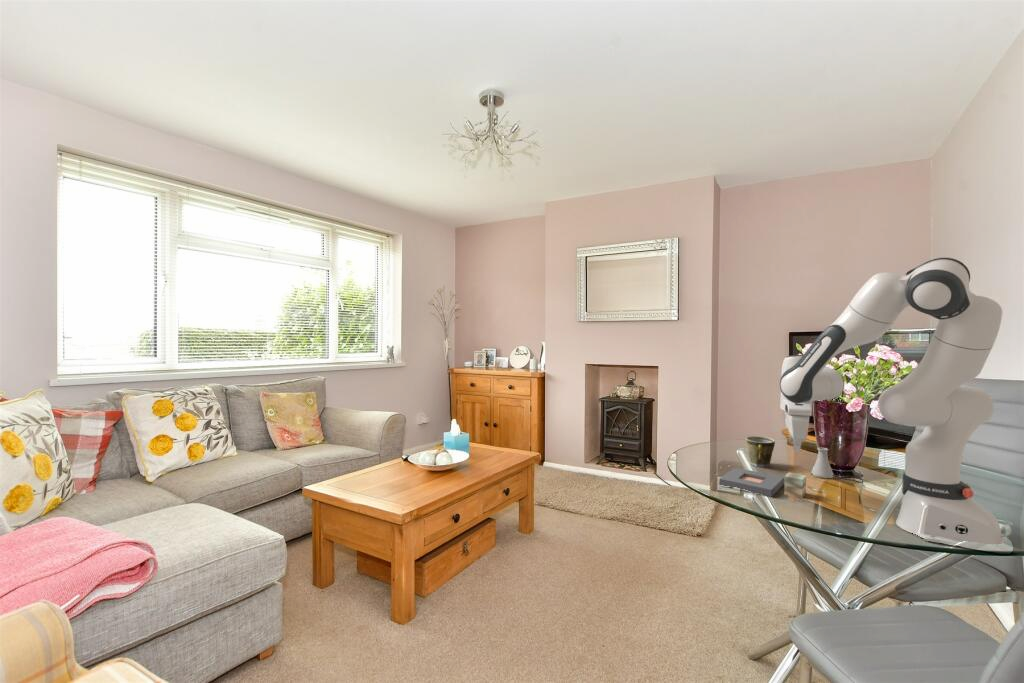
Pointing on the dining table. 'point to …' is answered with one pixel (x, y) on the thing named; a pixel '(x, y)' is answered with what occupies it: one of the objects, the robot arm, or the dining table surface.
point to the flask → (822, 465)
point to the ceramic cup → (760, 450)
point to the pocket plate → (753, 481)
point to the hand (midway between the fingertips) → (794, 447)
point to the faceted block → (795, 485)
